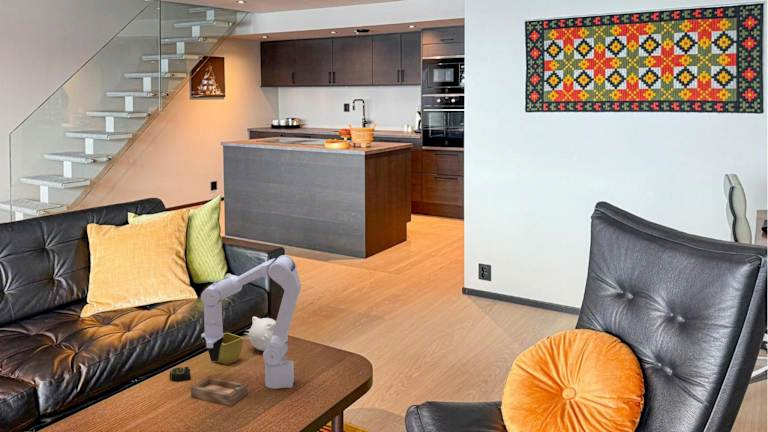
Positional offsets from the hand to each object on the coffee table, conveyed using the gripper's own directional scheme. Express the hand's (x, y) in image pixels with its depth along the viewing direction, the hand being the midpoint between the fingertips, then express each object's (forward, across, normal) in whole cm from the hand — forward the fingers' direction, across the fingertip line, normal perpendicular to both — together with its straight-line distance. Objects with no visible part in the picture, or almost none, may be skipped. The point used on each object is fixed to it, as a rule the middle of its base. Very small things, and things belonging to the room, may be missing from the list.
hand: (214, 360), depth 224 cm
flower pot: (+8, -18, 0) cm, 20 cm away
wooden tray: (+7, +11, +3) cm, 14 cm away
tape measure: (+9, -3, -12) cm, 15 cm away
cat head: (+8, -29, +14) cm, 33 cm away
